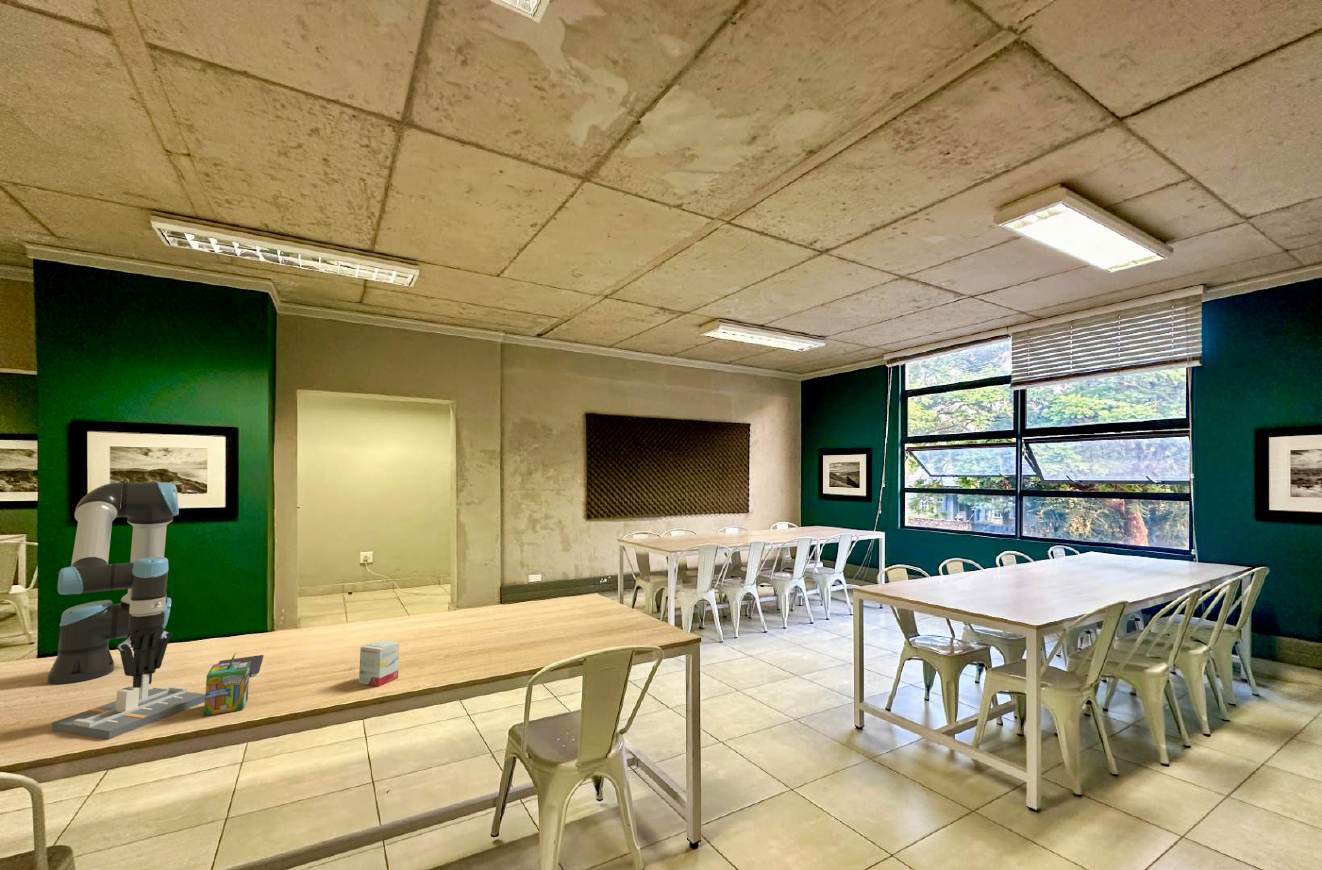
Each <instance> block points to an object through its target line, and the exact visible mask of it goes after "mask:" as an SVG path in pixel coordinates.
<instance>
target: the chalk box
mask: <svg viewBox="0 0 1322 870" xmlns="http://www.w3.org/2000/svg"><path fill="white" fill-rule="evenodd" d="M236 654H237V653H236V652H235V653H234V654H233V656H232V657H231V659H232V660H231V662H230V663H224V664H218V663H217V664H213V665H211V667H210V670H209V671H208V673H207V675H206V682H205V693H204V694H205V702H204V709H203V710H204V711H203V717H207V716H210V715H211V716H212V715H219V714H226V713H231V712H238V711H239V712H240V711H243V710H244V708H245V707H246V704H247V702H248V699H249V696H248V695H249V686H250V685H249V683H250V677H249V675H250V663H251V661H242V662H233V660H234V659H235V656H236Z"/></svg>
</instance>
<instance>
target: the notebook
mask: <svg viewBox="0 0 1322 870" xmlns="http://www.w3.org/2000/svg"><path fill="white" fill-rule="evenodd" d="M231 660H232V658H231V659H230V658H229V659H223V660H219V661H218V663H217V664H224V663H230V662H231ZM263 660H264V654H259V655H252V656H245V657H244V656H243V657H237V658H234V660H233V662H242V661H251V663H250V675H249V678H251V677H258V676H259V675H260V671H261V668H262V665H263V664H262V663H263Z"/></svg>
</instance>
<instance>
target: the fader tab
mask: <svg viewBox="0 0 1322 870" xmlns="http://www.w3.org/2000/svg"><path fill="white" fill-rule="evenodd" d="M115 698H116V699H115V701H116V710H115V711H116V712H125V711H127V710H130V709H133V708H136V707H138V701H139V688H136V687H133V686H128V687H124V688H121V689H117V690H116V697H115Z"/></svg>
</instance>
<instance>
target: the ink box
mask: <svg viewBox="0 0 1322 870" xmlns="http://www.w3.org/2000/svg"><path fill="white" fill-rule="evenodd" d="M359 653H360V654H359V671H358V673H359V674H358V684H361V685H367V686H376V687H381V686H383V685H385V684H387V683H390V682H392V681H394V680H396V679H398V678H399V661H400V659H399V658H400V657H399V656H400V642H397V641H389V640H383V639H380V640H378V641H377V640H376V641H374V642H371V643H368V644H365V645H362V646H360V651H359Z"/></svg>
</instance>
